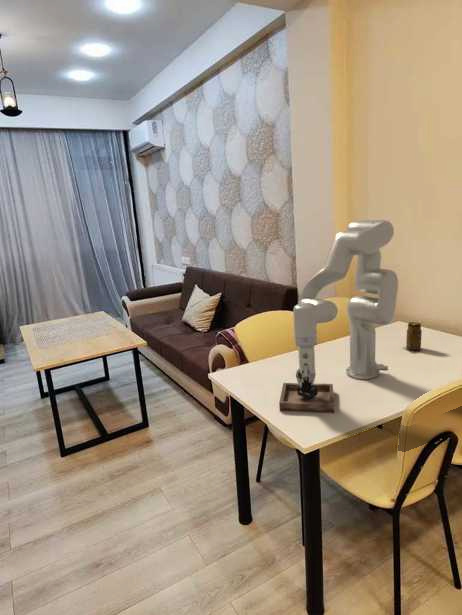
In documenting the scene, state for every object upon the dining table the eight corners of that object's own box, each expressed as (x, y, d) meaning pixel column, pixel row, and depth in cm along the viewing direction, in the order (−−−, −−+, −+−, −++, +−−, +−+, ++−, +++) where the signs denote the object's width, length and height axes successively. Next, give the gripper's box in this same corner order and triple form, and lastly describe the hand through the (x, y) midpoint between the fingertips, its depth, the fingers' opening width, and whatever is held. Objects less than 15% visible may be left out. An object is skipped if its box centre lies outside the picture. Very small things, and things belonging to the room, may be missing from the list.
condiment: (415, 345, 189) (416, 320, 186) (427, 351, 181) (429, 325, 178) (401, 347, 188) (402, 322, 185) (413, 353, 180) (414, 327, 177)
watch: (294, 397, 143) (293, 367, 141) (307, 388, 149) (306, 360, 146) (307, 401, 139) (306, 371, 137) (320, 392, 145) (319, 363, 142)
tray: (332, 391, 150) (332, 383, 149) (334, 413, 135) (334, 404, 134) (283, 390, 154) (283, 382, 153) (279, 411, 139) (279, 402, 138)
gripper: (316, 348, 130) (317, 398, 134) (317, 331, 147) (318, 376, 151) (292, 348, 132) (294, 398, 136) (295, 331, 148) (297, 376, 152)
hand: (307, 386), depth 143 cm, fingers open, 8 cm apart
